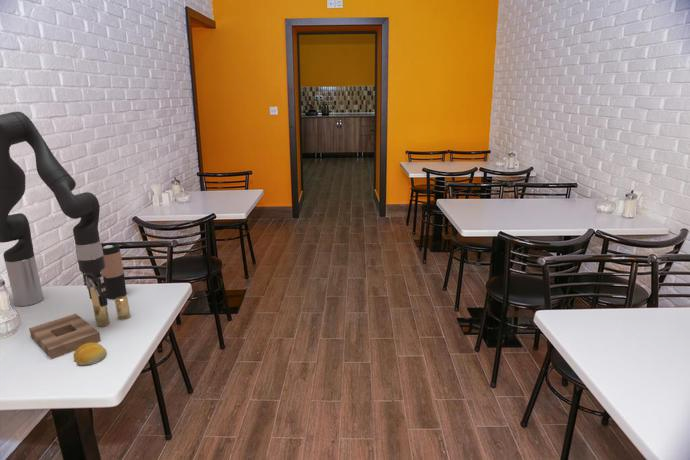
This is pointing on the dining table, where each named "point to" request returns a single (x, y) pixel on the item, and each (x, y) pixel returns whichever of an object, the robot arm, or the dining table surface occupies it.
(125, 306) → the short pin
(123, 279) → the travel mug
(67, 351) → the hole board
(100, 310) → the tall pin
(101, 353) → the bread roll
